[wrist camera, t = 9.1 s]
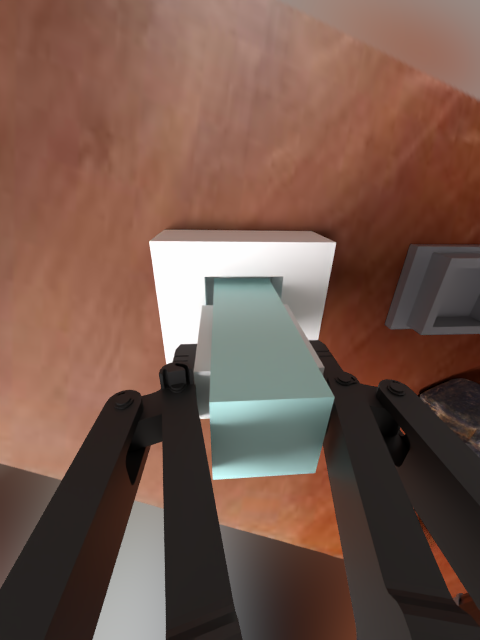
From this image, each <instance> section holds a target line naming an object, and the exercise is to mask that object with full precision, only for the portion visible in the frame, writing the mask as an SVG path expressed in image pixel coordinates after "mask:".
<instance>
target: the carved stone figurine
mask: <svg viewBox="0 0 480 640" xmlns="http://www.w3.org/2000/svg"><path fill="white" fill-rule="evenodd" d="M419 398H420V399H421V400H422V401H423V402H424V403H425V404H426V405H427V406H428V407H429V408H430V409H431V410H432V411H433V412H434V413H435V414H436V415H437V416H438V417H439V418H440V419H441V420H442V421H443V422H444V423H445V424H446V425H447V426H448V427H449V428H450V429H451V430H452V431H453V432H454V433H455V434H456V435H457V436H458V437H459V438H460V439H461V440H462V441H463V442H464V443H465V444H466V445H467V446H468V447H469V448H470V449H471V450H472V451H473V452H474V453H475V454H476V455H477V456H478V457H479V458H480V384H478V383H476V382H473V381H470V380H467V379H464V378H459V379H452V380H450V381H447V382H445V383H442V384H440V385H437V386H436V387H434V388H431V389H429V390H427V391H425V392H423V393H422V394H420V397H419Z"/></svg>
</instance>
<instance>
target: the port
mask: <svg viewBox="0 0 480 640" xmlns="http://www.w3.org/2000/svg"><path fill="white" fill-rule="evenodd" d="M149 242H150V249H151V256H152V263H153V271H154V278H155V285H156V292H157V299H158V306H159V314H160V321H161V328H162V335H163V342H164V349H165V357H166V364H168V363H172V362H173V358H174V354H175V350H176V349H177V348H178V347H179V345H180V344H197V342H198V334H199V326H200V319H201V311H202V305H213V295H214V278H269V280H270V281H271V283H272V285H273V287H274V289H275V290H276V292H277V294H278V296H279V298H280V299H281V301H282V303H283V304H287V305H288V306H289V308H290V310H291V311H292V313H293V315H294V316H295V318H296V320H297V321H298V323H299V325H300V327H301V328H302V330H303V332H304V333H305V335H306V337H307V338H308V340H318V337H319V332H320V326H321V321H322V316H323V310H324V305H325V300H326V295H327V289H328V284H329V279H330V273H331V268H332V263H333V258H334V252H335V247H336V242H334V241H332V240H330V239H328V238H326V237H323V236H321V235H319V234H317V233H315V232H313V231H255V230H163V231H162V232H161V233H159V234H158V235H157V236H156V237H154V238H153V239H152V240H150V241H149Z"/></svg>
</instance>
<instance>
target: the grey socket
mask: <svg viewBox="0 0 480 640" xmlns="http://www.w3.org/2000/svg"><path fill="white" fill-rule="evenodd" d="M385 325H386V326H387V327H388V328H390V329H413V330H415V331H416V332H417V333H419V334H420V335H444V334H480V245H472V244H410V247H409V250H408V253H407V256H406V259H405V262H404V265H403V269H402V272H401V275H400V278H399V281H398V284H397V287H396V290H395V294H394V297H393V300H392V303H391V306H390V309H389V312H388V315H387V319H386V322H385Z"/></svg>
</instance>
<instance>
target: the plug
mask: <svg viewBox="0 0 480 640" xmlns="http://www.w3.org/2000/svg"><path fill="white" fill-rule="evenodd" d="M334 398H335V397H334V395H333V393H332V391H331V389H330V388H329V386H328V384H327V382H326V380H325V379H324V377H323V375H322V373H321V371H320V370H319V368H318V366H317V364H316V362H315V361H314V359H313V357H312V355H311V353H310V352H309V350H308V348H307V346H306V344H305V343H304V341H303V339H302V337H301V335H300V334H299V332H298V330H297V328H296V326H295V325H294V323H293V321H292V319H291V317H290V316H289V314H288V312H287V310H286V308H285V307H284V305H283V303H282V301H281V299H280V298H279V296H278V294H277V292H276V290H275V289H274V287H273V285H272V283H271V281H270V280H269V278H214V295H213V320H212V345H211V370H210V395H209V409H210V429H211V450H212V471H213V480H216V479H231V478H246V477H261V476H276V475H292V474H307V473H315V472H316V468H317V464H318V460H319V456H320V452H321V448H322V444H323V441H324V437H325V433H326V429H327V425H328V421H329V417H330V413H331V410H332V406H333V402H334Z"/></svg>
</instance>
